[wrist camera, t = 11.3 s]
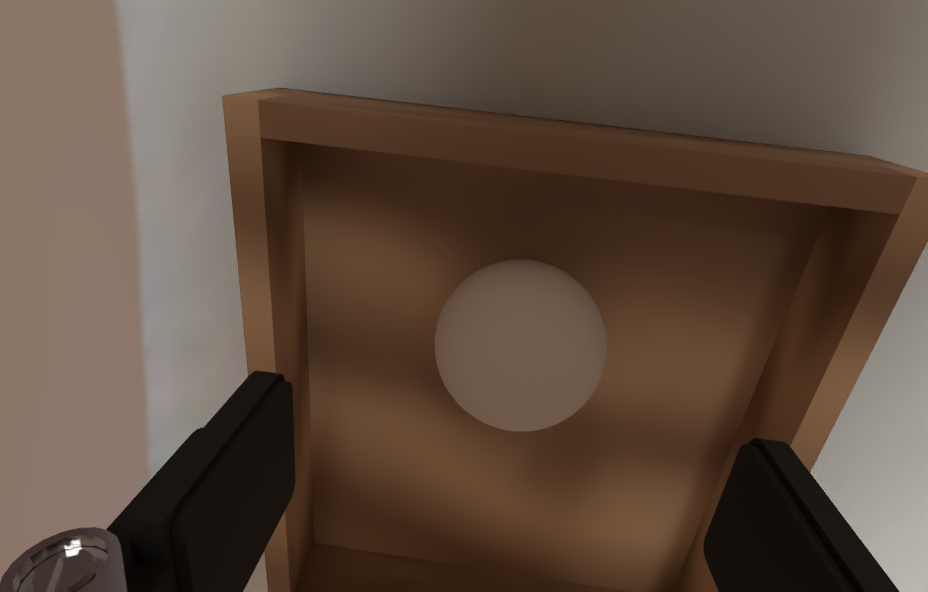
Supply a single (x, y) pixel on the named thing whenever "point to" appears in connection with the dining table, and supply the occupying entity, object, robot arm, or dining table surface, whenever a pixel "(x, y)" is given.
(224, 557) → the robot arm
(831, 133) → the dining table surface
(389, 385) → the walnut tray
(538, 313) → the beige ball
